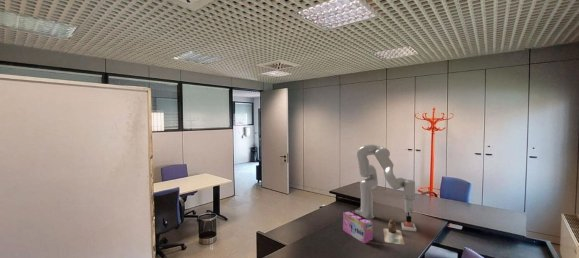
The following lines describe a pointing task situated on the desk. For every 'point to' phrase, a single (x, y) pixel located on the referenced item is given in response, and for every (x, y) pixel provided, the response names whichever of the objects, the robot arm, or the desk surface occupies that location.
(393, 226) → the pawn
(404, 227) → the popper base
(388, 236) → the track board
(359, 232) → the pink printed package
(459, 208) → the desk surface
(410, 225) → the red dome
